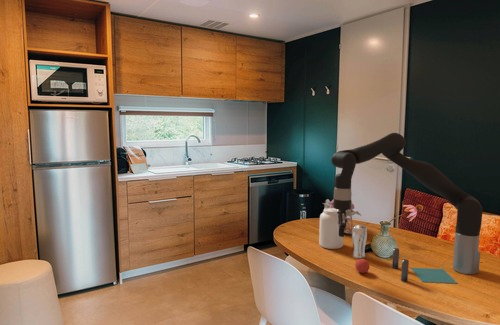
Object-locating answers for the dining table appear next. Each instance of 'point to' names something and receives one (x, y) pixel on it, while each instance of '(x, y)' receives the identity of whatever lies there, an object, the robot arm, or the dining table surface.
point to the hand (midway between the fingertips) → (341, 236)
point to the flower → (349, 212)
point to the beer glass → (359, 240)
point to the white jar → (329, 230)
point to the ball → (362, 265)
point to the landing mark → (433, 275)
